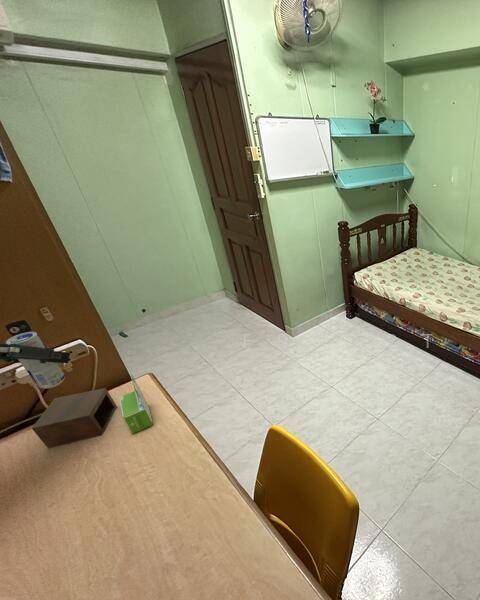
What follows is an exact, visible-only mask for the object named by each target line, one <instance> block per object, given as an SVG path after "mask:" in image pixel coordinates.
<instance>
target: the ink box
mask: <svg viewBox="0 0 480 600" xmlns="http://www.w3.org/2000/svg"><path fill="white" fill-rule="evenodd" d="M129 375H130V378H131V382H132V386H133V389H134V391H132V392H129V393H126V394H123V395H121V396H119V397H118V398H119V404H120V410H121V414H122V419H123V420H124V422H125V424H126V426H127V428H128V429H129V431H130V433H131V435H133V434H136V433H138V432H141V431H143V430H145V429H147V428H149V427H151V426H153V425H154V421H153V418H152V414H151V409H150V405H149V403H148V401H147V399H146V397H145V396H144V394H143V391H142V389H141V388H140V386H139V384H138V382H137V381H136V379H135V378H134V376H133V375H132V373H131V372H129Z"/></svg>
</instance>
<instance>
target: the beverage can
mask: <svg viewBox="0 0 480 600" xmlns="http://www.w3.org/2000/svg"><path fill="white" fill-rule="evenodd" d="M13 343H14V344H18V345H23V346H31V347H39V348H47V346H46V345H45V343H44V342H43V340H42V339H41V337H40V336H39V335H38V333H37V332H36V331H28V332H27V331H26V332H22V333H19V334H16V335H14V336H12V337H10V338H8V339H7V340H6V341H5V344H13ZM18 360H19V361H20V363H19V364H21V366H23V368H24V370H25V371H26V373H28V375H29V376H30V377H31V379H32V380H33V382H34V383H35V384H36V386H37V387H38V388H40V389H46V390H48V389H53V388H56V387H58V386H60V385H61V384H62V383H63V382H64V380H65V379H66V374H65V373H64V371H63V370H62V369H61V367H60V366H59V363H56V362H46V363H40V362H41V361H40V360H30V359H18Z"/></svg>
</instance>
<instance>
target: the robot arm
mask: <svg viewBox="0 0 480 600" xmlns="http://www.w3.org/2000/svg"><path fill="white" fill-rule="evenodd" d="M70 355H71V353H70V352H65V351H57V350H55V349H54V348H47V347H46V348H39V347H31V346H23V345H18V344H14V343H13V344H6V343H0V363H1V362H4V363H12V362H13V363H15V364H21V363H20V361H19V360H18V359H30V360H40V361H41V362H40V363H46V362H56V363H57V364H68V363H69V360H70V357H71V356H70Z"/></svg>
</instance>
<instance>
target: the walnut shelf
mask: <svg viewBox="0 0 480 600" xmlns="http://www.w3.org/2000/svg"><path fill="white" fill-rule="evenodd" d="M117 407H118V405H117V404H116V402H115V400H114V399H113V398H112V396H111V394H110V393H109V390H108V389H107V387H103V388H98V389H93V390H88V391H84V392H79V393H74V394H69V395H64V396H60V397H54V398H53V400H52V401H51V402H50V403H49V405H48V406H47V408H46V409H45V410H44V411H43V413H42V414H41V415H40V417H39V418H38V420H36V422H35V423H34V424H33V426H32V427H31V430H32V431H33V432H34V433H35V435H36V436H37V437H38V438H39V439H40V440H41V442H42V443H43V445H44V446H45V447H46V448H47V449H49V448H54V447H58V446H62V445H67V444H71V443H75V442H78V441H83V440H87V439H91V438H95V437H99V436H103V434H104V432H105V431H106V429H107V427H108V425H109V423H110V421H111V420H112V417H113V415H114V414H115V411H116V409H117Z"/></svg>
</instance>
